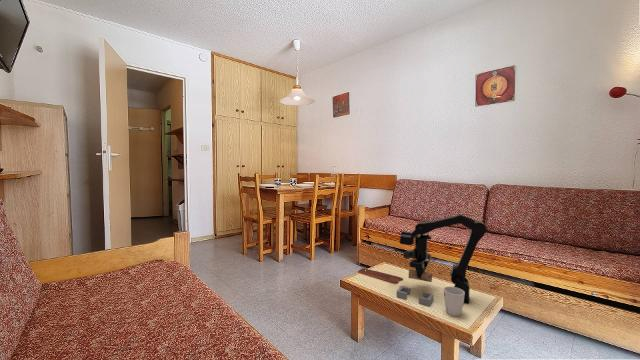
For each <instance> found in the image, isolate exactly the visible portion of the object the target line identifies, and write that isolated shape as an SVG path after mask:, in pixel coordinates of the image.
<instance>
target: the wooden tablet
mask: <svg viewBox="0 0 640 360" xmlns="http://www.w3.org/2000/svg"><path fill="white" fill-rule="evenodd" d="M365 270H366V271H365ZM357 273H359V274H360V275H364V276H368V277H371V278H375V279H378V280H381V281H385V282H388V283H392V284H395V285H398V284H399V283H400V282H403V280H404V278H403V277H401V276H398V275H393V274H390V273H385V272H382V271H377V270H374V269H373V270H372V269H369V270H368V268H364V267H363V268H360V269H359V270H357Z"/></svg>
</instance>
